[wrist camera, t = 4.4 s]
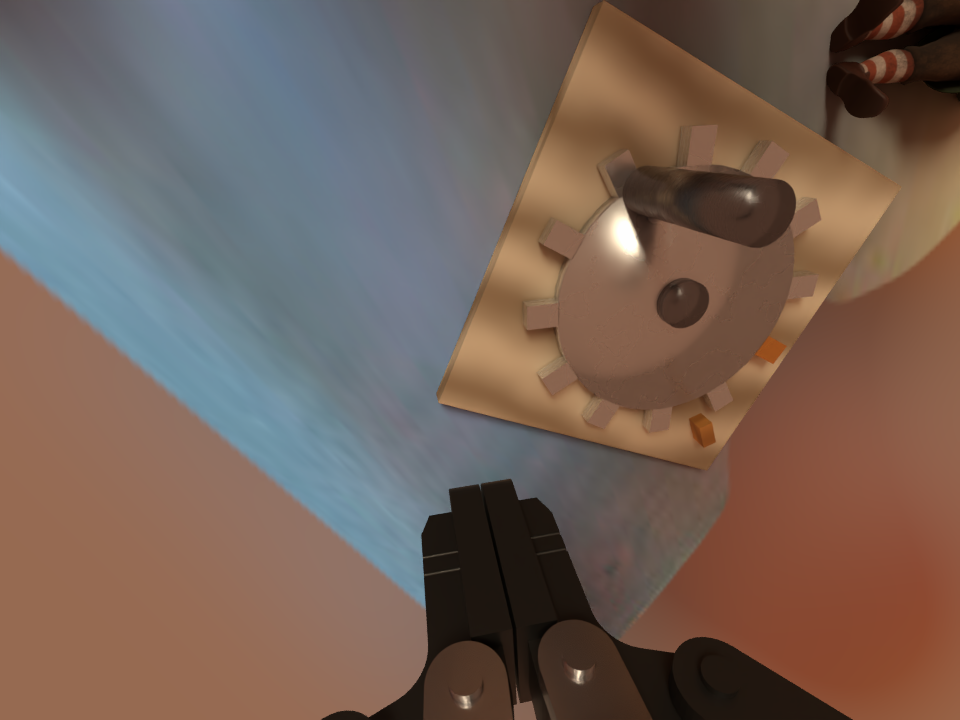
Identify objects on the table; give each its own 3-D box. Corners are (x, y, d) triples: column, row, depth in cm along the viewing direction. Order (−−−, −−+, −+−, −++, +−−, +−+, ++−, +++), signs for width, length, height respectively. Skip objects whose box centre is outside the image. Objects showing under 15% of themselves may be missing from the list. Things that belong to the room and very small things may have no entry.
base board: (593, 6, 28) (616, -8, 25) (883, 185, 37) (922, 188, 34) (436, 393, 38) (440, 413, 35) (697, 461, 47) (717, 481, 44)
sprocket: (618, 57, 28) (765, 8, 17) (867, 204, 36) (1078, 233, 25) (474, 387, 36) (513, 494, 25) (703, 449, 44) (808, 552, 33)
